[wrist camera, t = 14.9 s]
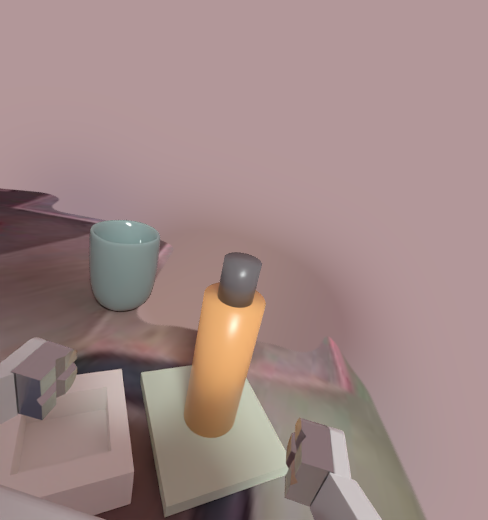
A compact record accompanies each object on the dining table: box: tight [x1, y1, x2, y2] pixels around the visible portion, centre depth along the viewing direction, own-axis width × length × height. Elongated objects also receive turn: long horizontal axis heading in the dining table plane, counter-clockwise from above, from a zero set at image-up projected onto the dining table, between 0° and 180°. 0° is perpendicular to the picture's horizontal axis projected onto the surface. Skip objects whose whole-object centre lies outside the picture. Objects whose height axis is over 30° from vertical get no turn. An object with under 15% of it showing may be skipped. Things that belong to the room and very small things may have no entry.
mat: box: [140, 365, 289, 517], centre depth 28 cm, size 12×10×1 cm
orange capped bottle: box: [184, 252, 266, 438], centre depth 25 cm, size 4×4×15 cm
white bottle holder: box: [0, 369, 134, 515], centre depth 21 cm, size 15×9×4 cm, turn 113°
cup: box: [89, 220, 160, 311], centre depth 40 cm, size 8×8×10 cm
